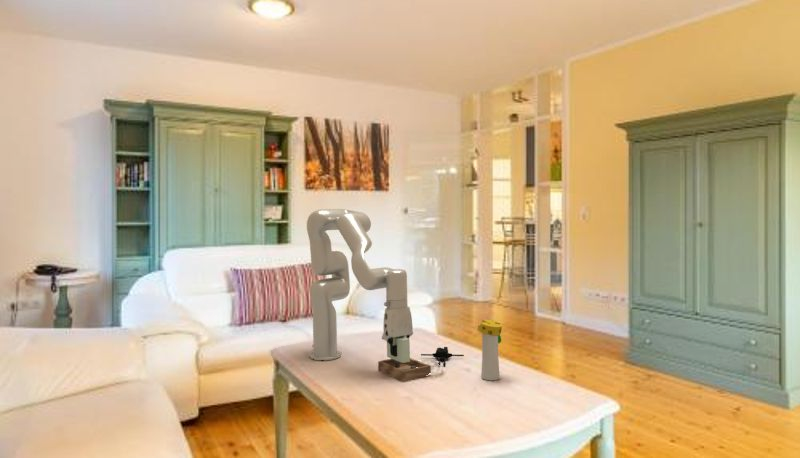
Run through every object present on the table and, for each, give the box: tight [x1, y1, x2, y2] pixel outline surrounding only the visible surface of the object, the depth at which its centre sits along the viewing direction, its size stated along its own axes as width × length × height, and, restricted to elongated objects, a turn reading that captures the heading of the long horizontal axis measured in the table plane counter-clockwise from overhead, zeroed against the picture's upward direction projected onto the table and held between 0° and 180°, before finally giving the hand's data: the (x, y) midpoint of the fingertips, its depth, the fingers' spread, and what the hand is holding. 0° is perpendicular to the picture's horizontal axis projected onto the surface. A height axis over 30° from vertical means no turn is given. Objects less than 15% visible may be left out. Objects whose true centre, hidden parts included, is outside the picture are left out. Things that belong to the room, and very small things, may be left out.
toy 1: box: [420, 346, 465, 368], centre depth 204 cm, size 17×5×15 cm
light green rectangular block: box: [386, 336, 411, 363], centre depth 187 cm, size 10×3×8 cm, turn 35°
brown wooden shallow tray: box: [377, 357, 432, 383], centre depth 189 cm, size 16×12×4 cm
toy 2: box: [477, 318, 503, 381], centre depth 182 cm, size 8×9×20 cm
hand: (398, 354), depth 187 cm, fingers closed on light green rectangular block, 3 cm apart
